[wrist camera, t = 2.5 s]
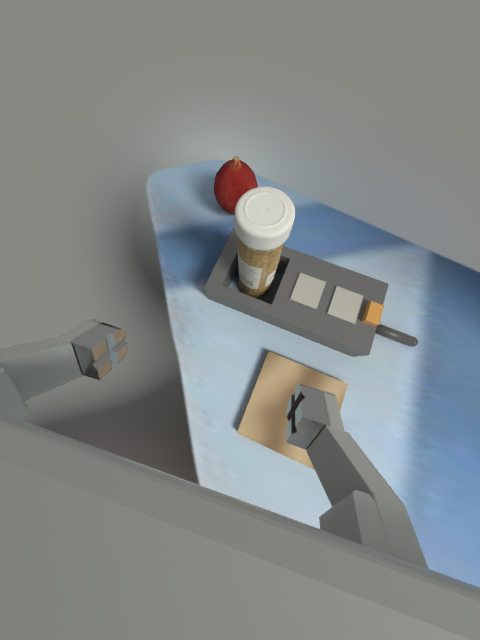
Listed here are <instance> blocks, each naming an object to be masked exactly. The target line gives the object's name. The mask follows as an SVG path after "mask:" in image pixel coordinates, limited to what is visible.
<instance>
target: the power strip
mask: <svg viewBox="0 0 480 640" xmlns="http://www.w3.org/2000/svg"><path fill="white" fill-rule="evenodd" d="M237 267H238V236H237V233H236V229H234V228H233V230H232V232H231V234H230V236H229V238H228V240H227V242H226V244H225V246H224V248H223V250H222V252H221V254H220V256H219V259H218V261H217V263H216V265H215V267H214V269H213V271H212V273H211V275H210V277H209V279H208V281H207V283H206V285H205V287H204V291H205V293H206V295H207V297H208V299H210V300H213V301H215V302H218V303H220V304H223V305H225V306H227V307H230V308H232V309H235V310H237V311H240V312H242V313H245V314H247V315H250V316H252V317H255V318H257V319H260V320H262V321H265V322H267V323H270V324H272V325H275V326H277V327H280V328H282V329H285V330H287V331H290V332H292V333H295V334H297V335H300V336H302V337H305V338H307V339H310V340H312V341H314V342H317V343H319V344H322V345H324V346H327V347H329V348H332V349H334V350H337V351H339V352H342V353H344V354H347V355H349V356H352V357H354V356H363V355H369V353H370V350H371V346H372V342H373V339H374V335H375V333H377V334H380V335H382V336H385V337H387V338H390V339H393V340H395V341H398V342H400V343H403V344H406V345H408V346H416V345H417V344H418V340H417V339H416V338H415V337H412V336H410V335H407V334H404V333H402V332H399V331H396V330H394V329H391V328H388V327H386V326H383V325H381V324H379V322H380V318H381V314H382V311H383V307H384V305H383V302H384V299H385V295H386V291H387V288H388V284H387V283H385V282H382V281H379V280H376V279H373V278H371V277H368V276H365V275H362V274H359V273H357V272H354V271H351V270H348V269H345V268H343V267H340V266H337V265H334V264H331V263H329V262H326V261H323V260H320V259H318V258H315V257H312V256H309V255H306V254H304V253H301V252H298V251H295V250H292V249H290V248H287V247H284V246H283V248H282V251H281V254H280V259H279V263H278V266H277V269H278V270H281V271H283V272H284V275H283V277H282V280H281V282H280V285H279V287H278V290H277V292H276V295H275V297H274V300H273V302H272V304H269V303H266V302H264V301H261V300H259V299H256V298H254V297H251V296H248V295H246V294H243V293H241V292H238V291H236V290H233V289H231V288H228V286H229V284H230V282H231V280H232V278H233V275H234V273H235V271H236V269H237Z"/></svg>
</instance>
